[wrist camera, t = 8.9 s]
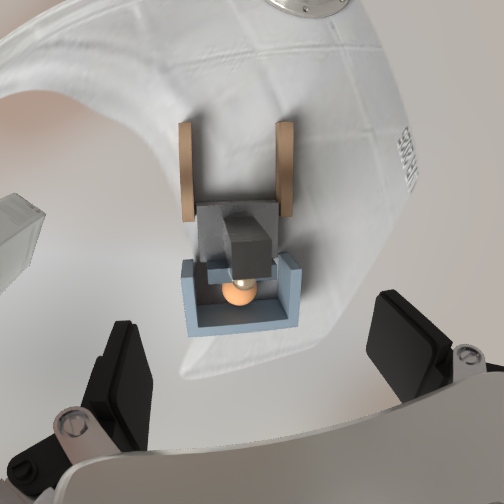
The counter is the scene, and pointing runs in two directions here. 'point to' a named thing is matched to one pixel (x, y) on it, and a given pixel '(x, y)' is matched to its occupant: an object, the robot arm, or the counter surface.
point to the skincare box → (17, 236)
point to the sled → (238, 241)
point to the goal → (244, 316)
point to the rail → (282, 169)
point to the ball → (238, 294)
